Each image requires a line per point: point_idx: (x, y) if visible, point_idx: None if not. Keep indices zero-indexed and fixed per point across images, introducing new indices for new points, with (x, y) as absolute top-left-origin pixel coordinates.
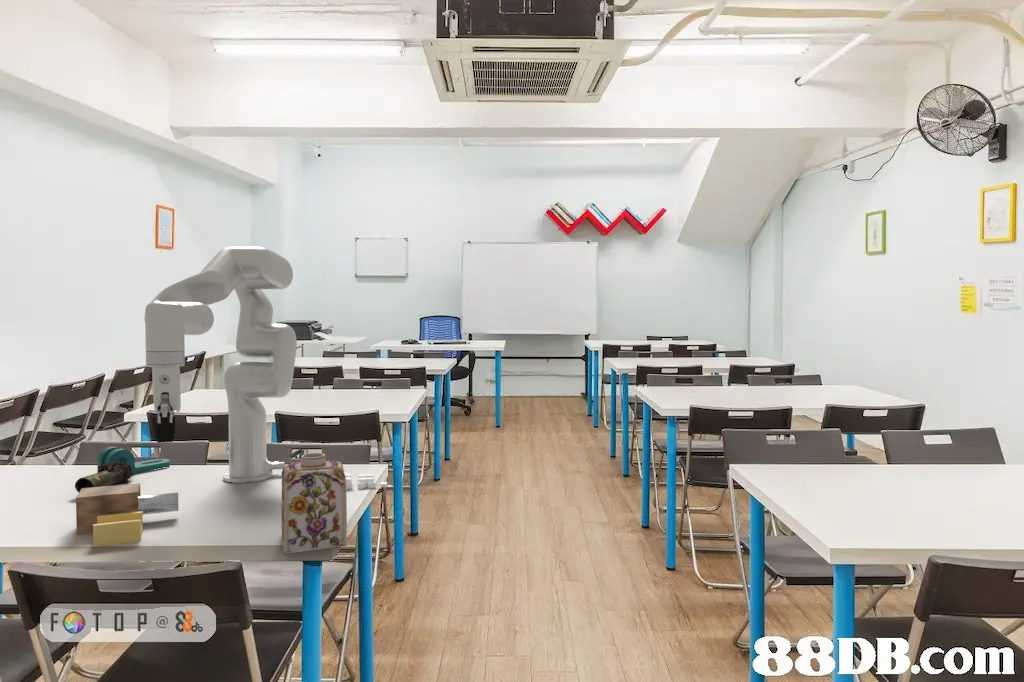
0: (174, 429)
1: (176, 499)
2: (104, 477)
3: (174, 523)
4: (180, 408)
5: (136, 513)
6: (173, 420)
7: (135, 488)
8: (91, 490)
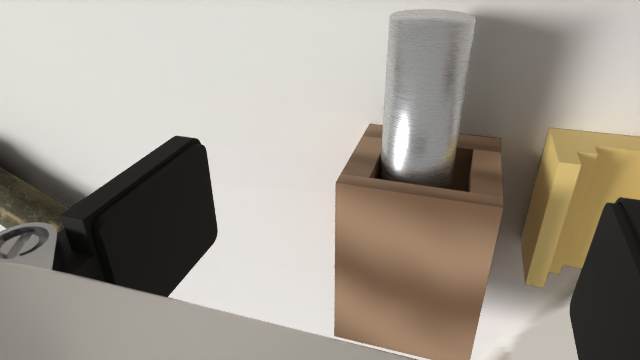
0: (182, 157)
1: (469, 29)
2: (31, 212)
3: (486, 19)
4: (236, 318)
5: (575, 182)
6: (128, 211)
7: (427, 208)
8: (380, 321)
